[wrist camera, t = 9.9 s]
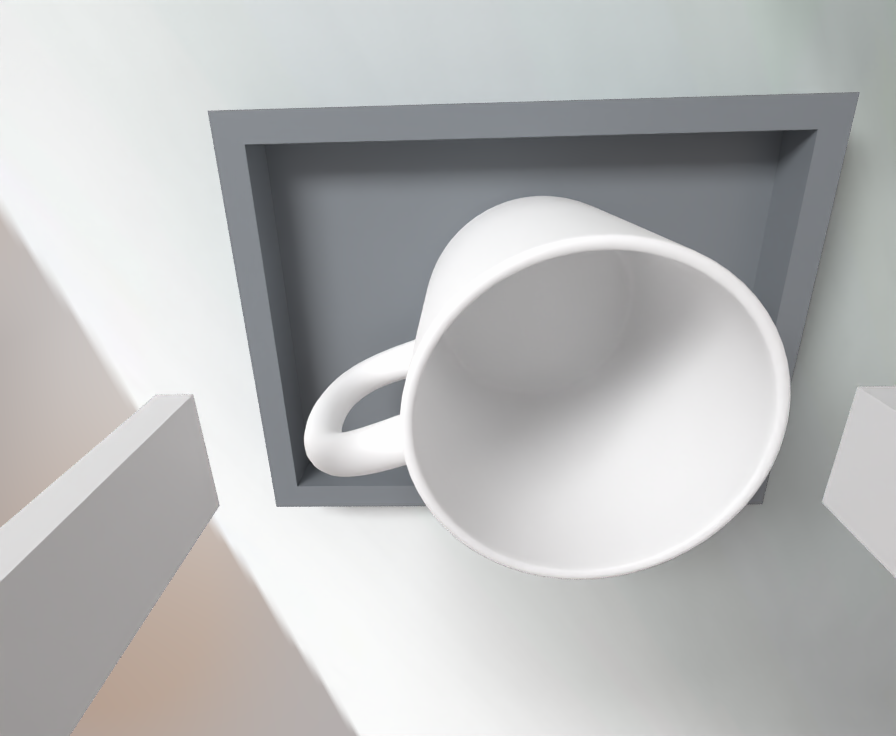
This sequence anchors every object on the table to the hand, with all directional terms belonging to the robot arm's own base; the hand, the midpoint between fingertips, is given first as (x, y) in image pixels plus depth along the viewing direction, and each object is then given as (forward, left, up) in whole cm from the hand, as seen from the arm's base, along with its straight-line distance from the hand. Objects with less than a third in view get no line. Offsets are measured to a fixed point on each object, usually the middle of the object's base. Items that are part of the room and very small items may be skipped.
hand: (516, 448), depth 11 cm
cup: (0, 0, -11) cm, 11 cm away
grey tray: (0, +1, -11) cm, 11 cm away
